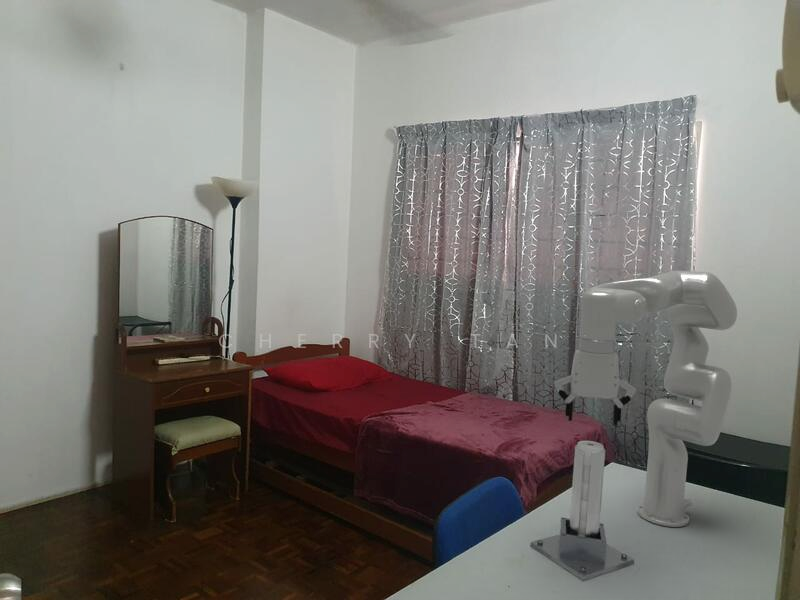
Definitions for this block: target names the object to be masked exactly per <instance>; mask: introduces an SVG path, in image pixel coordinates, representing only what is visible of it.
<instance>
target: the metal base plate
mask: <svg viewBox="0 0 800 600" xmlns="http://www.w3.org/2000/svg"><path fill="white" fill-rule="evenodd" d="M569 525H570V517H567V518H566V517H561V518H560V526H559V527H560V528H559V534H556V535H552V536H548V537H545V538H541V539H536V540H533V541H531V542H530V547H531V548H533V550H535V551H537V552H538V553H540V554H541V555H543V556H544V557H546V558H548V559H549V560H551V561H552V562H554V563H555V564H557V565H558V566H560V567H561V568H563V569H565V571H568V572H569V573H570V574H572V575H574V576H575V577H577V579H580V580H581V581H582V582H584V581H587V580H590V579H593V578H595V577H599V576H601V575H604V574H607V573H608V574H609V573H611V572H613V571H616V570H619V569H623V568H625V567H629V566H632V565H634V564H635V559H634V558H633V557H630V556H629V555H628V554H626V553H623V552H622V551H620V550H618V549H616V548H614V547H613V546H611V545H609V544H608V543H607V536H606V532H605V526H604V523H601V522H600V526H599V539H593V538H587V537H581V536H575V535H569Z"/></svg>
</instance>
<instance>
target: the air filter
mask: <svg viewBox="0 0 800 600" xmlns="http://www.w3.org/2000/svg"><path fill="white" fill-rule="evenodd" d="M574 446H575V447H574V458H573V473H572V483H571V484H572V486H571V499H570V501H571V502H570V513H569V515H570V516H569V519H570V525H569V535H575V536H581V537H587V538H593V539H599V526H600V523H601V511H602V498H603V488H604V487H603V484H604V470H605V462H606V461H605V460H606V459H605V458H606V449H605V448H604V445H603V444H602V443H600V442H597V441H593V440H580V441H577V444H576V445H574Z"/></svg>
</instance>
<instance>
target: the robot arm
mask: <svg viewBox="0 0 800 600" xmlns="http://www.w3.org/2000/svg"><path fill="white" fill-rule="evenodd" d="M580 308H581V309H580V324H579V325H580V326H579V339H578V341H579V342H578V343H579V344H578V349H576V350H575V351H574V354H573V357H572V358H573V360H572V364H571V373H570V375H568V376H564V377H562V378H560V379H557V380H555V381H554V382H553V383H554V387H555V389H556V391H557V393H558V395H559V396H560V397H561V398H562V400H563V401H564V402H565V417H568V422H572V421H573V411H574V410H573V409H574V408H573V407H574V406H573V405H574V404H573V400H575V398H577V397H583V398H594V399H607V400H612V401H613V403H614V405H613V411H612V412H613V413H612V424H613V425H614V426H618V423H619V422H621V420H622V419H621V417H622V409H623V408H624V406H625V405H627V404H628V403H629V402H630V401H631V399H632V398H633V397H634V396H635V394H636V392H637V389H636V388H635V387H634V386H633V385H630V384H629V383H627V382H625V381H624V380H622V379H620V367H619V356H618V353H617V352H616V350H622V348H623V343H622V342H619V341H616V331H617V323H622V324H634V323H638V322H639V321H641V320H642V319H643V318H644V316H645V315H646V314H647V313H655V312H656V313H657V312H661V311H663V310H665V311H666V315H667V319H668V321H669V325H670V327H671V330H672V335H673V346H672V350H671V354H670V355H669V356H670V357H669V361H668V365H667V367H666V371H665V374H664V379H663V387H664V390H666V391H667V393H669V394H671V395H674V396H676V397H680V398H684V399H689V400H693V401H698V402H702V403H701V405H698V404H693V403H688V402H684V401H680V400H675V399H671V398H658V399H655V400H654V401H652V402H651V403H650V404H649V406H648V409H647V411H646V412H647V413H646V414H647V415H646V419H647V426H648V427H647V428H648V450H647V451H648V452H647V464H646V465H647V466H646V475H645V490H644V500H643V503H640V504H639V505H638V506H637V509H636V510H637V511H636V512H637V514H638V516H640V518H642V519H644V520H646V521H648V522H650V523H653V524H656V525H659V526H662V527H663V526H664V527H668V528H669V527H672V528H681V527H685V526H688V524H689V522H690V517H689V515H688V514H687V513H686V512H685V509H686V508H688V507H690V506H691V507H692V506H693V501H692V498H691V499H690V498H685V491H686V482H687V471H688V470H687V469H688V463H689V462H688V460H689V457H688V456H689V454H688V450H687V448H686V445H685V443H684V442H688V443H692V444H696V445H698V446H699V445H700V446H704V447H707V446H712V445H714V444H715V443H716V442H717V440H718V439H719V438H720V437H719V436H720V434H721V431H722V429H723V424H724V420H725V417H726V413H727V409H728V405H729V401H730V398H731V393H732V379H731V376H730V373H729V372H728V371H727V370H725V369H724V368H723V367H719V366H715V365H709V364H706V362H707V358H708V355H709V349H710V348H709V344H708V341H707V339H706V337H705V335H704V333H702V331H701V329H707V330H708V329H710V330H716V331H724V330H729V329H731V328H732V327H733V326H734V325H735V323H736V322H737V317H738V309H737V305H736V303H735V300H734V298H733V297H732V295H731V294H730V292H729V291H728V289H727V288H726V287H725V285H724V284H723V282H722V281H721V280H720V279H719V277H718V276H717V275H715V274H713V273H712V272H709V271H695V270H694V271H692V270H671V271H667V272H664V273H660V274H656V275H652V276H650V277H645V278H636V279H629V280H620V281H614V282H608V283H602V284H599V285H598V284H597V285H595V286H593V287H591V288H589V289H587V291H585V292H584V293H583V294H582V296H581V306H580ZM700 328H701V329H700ZM566 384H570V391H569V392H568V393H567V392H566V391H565V390H564V389H563V386H564V385H566ZM620 387H621V388H622V389H624V390H626V391H627V392H626V393H625V394H624V395H623V396H622V397H621V398H620V397H619V393H620V392H619V390H620Z"/></svg>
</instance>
